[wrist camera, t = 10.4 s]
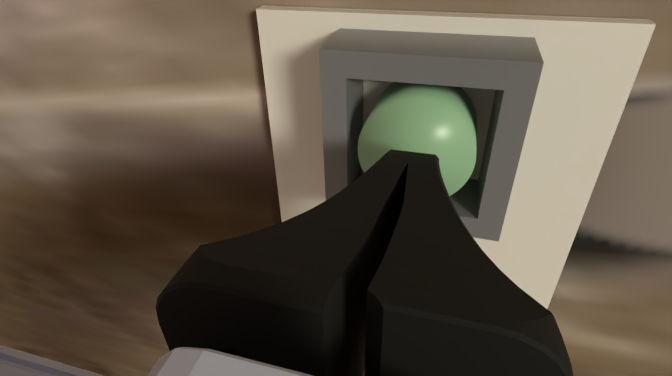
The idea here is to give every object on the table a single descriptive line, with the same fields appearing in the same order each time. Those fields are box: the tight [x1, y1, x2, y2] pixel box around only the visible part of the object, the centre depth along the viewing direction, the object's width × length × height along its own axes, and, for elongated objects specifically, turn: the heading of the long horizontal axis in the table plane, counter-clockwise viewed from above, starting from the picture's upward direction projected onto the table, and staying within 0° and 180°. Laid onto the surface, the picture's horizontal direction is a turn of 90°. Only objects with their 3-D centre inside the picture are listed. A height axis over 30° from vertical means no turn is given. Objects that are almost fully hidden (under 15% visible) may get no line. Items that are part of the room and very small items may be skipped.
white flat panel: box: [256, 6, 656, 309], centre depth 20 cm, size 12×24×1 cm, turn 1°
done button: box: [358, 82, 477, 196], centre depth 14 cm, size 4×4×2 cm
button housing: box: [319, 28, 544, 241], centre depth 14 cm, size 6×6×2 cm
